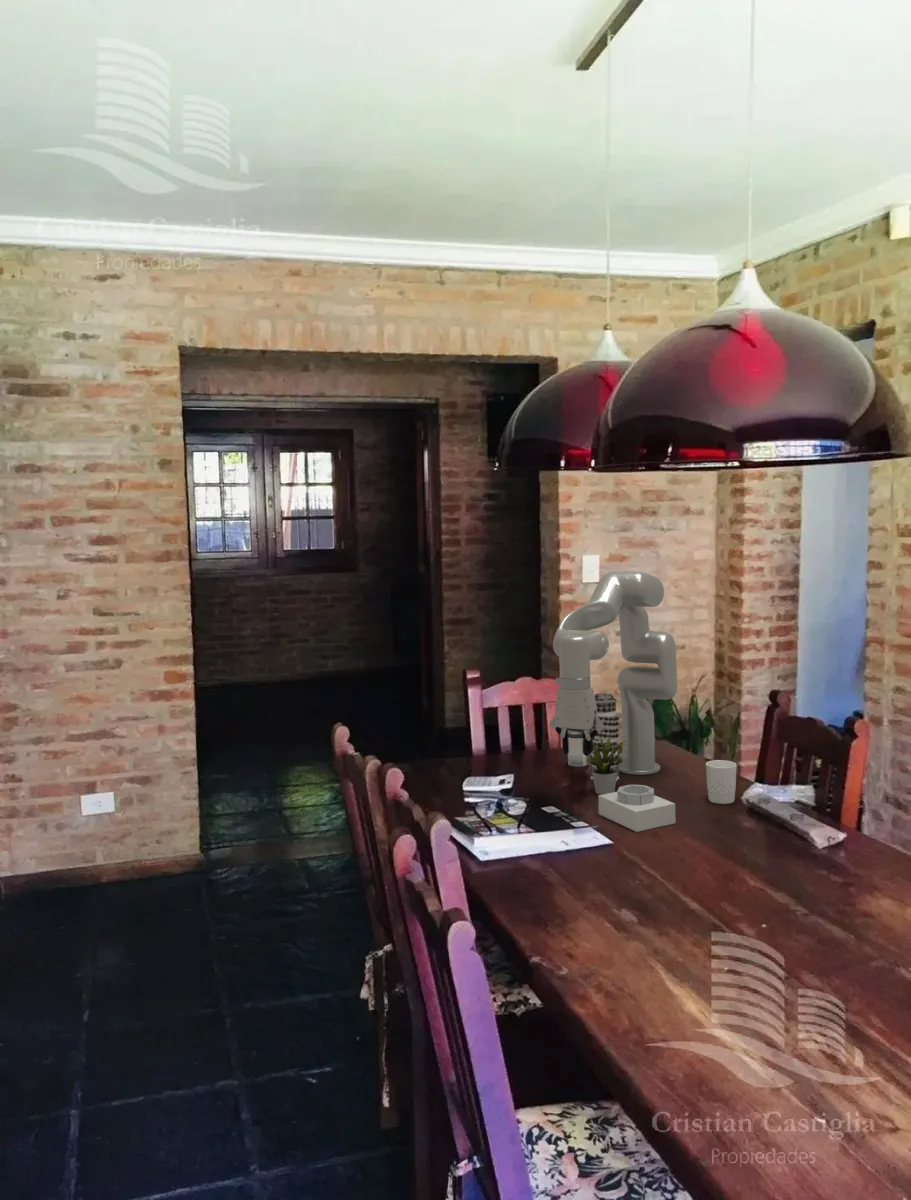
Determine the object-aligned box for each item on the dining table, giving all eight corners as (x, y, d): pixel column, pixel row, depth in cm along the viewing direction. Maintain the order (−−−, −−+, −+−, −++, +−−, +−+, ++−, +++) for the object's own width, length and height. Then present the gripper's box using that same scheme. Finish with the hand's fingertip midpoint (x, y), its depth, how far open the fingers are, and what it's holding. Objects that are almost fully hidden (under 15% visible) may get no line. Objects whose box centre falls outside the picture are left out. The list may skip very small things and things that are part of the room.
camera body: (598, 814, 240) (598, 785, 239) (636, 806, 245) (635, 778, 244) (636, 831, 225) (635, 801, 225) (675, 823, 231) (674, 793, 230)
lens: (564, 763, 237) (563, 728, 236) (580, 760, 239) (579, 725, 239) (575, 767, 233) (574, 732, 232) (591, 764, 235) (590, 729, 234)
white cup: (740, 804, 243) (740, 767, 242) (710, 805, 243) (709, 768, 242) (732, 795, 251) (731, 759, 250) (703, 796, 251) (702, 760, 250)
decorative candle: (586, 782, 269) (584, 697, 266) (591, 773, 277) (589, 691, 275) (618, 783, 266) (616, 698, 264) (622, 774, 275) (620, 692, 273)
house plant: (637, 801, 249) (636, 741, 248) (586, 802, 250) (584, 743, 248) (628, 785, 264) (627, 729, 262) (580, 787, 264) (578, 731, 262)
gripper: (538, 684, 235) (541, 754, 237) (602, 688, 227) (604, 760, 228) (550, 679, 242) (552, 747, 243) (612, 682, 233) (614, 753, 235)
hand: (577, 752), depth 236 cm, fingers closed on lens, 5 cm apart
